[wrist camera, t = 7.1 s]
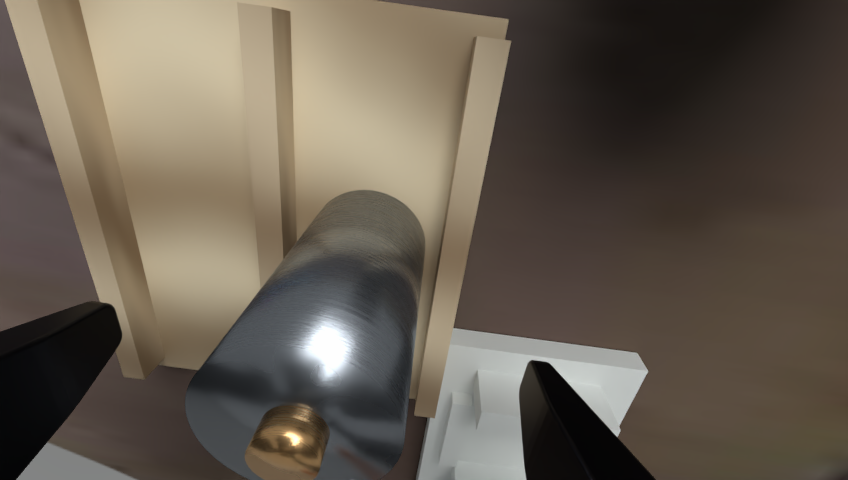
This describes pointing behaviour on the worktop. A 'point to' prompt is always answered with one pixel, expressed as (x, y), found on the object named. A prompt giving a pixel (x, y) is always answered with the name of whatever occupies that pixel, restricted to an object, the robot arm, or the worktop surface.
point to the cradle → (512, 400)
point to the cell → (320, 352)
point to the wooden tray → (257, 148)
